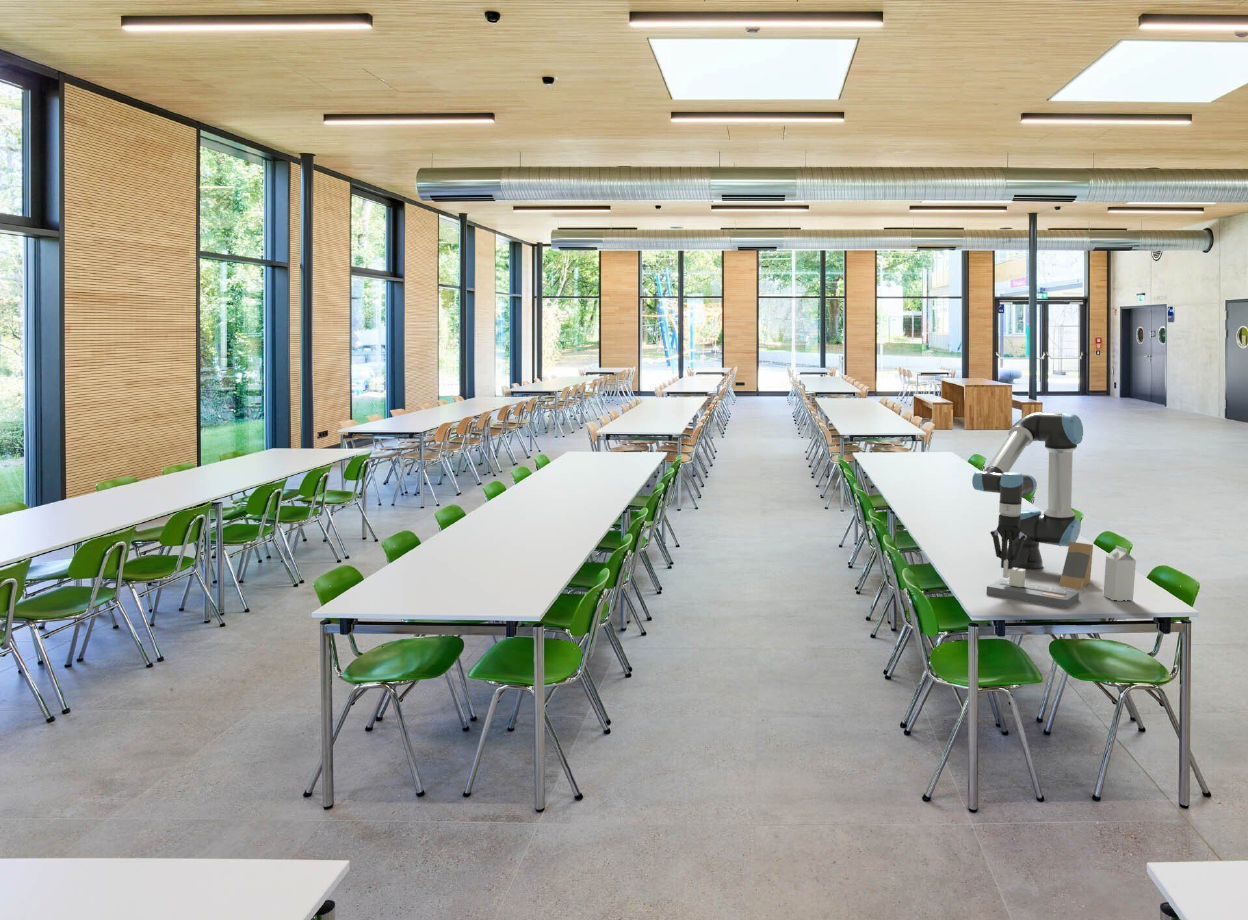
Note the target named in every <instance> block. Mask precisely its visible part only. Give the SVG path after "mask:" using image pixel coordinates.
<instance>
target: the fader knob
mask: <svg viewBox="0 0 1248 920" xmlns="http://www.w3.org/2000/svg"><path fill="white" fill-rule="evenodd" d="M1026 570H1027V569H1023V568H1015V567H1013V568H1012V569H1010V577H1008V578H1009V585H1011V586H1017V587H1023V586H1024V585H1025V583H1026Z"/></svg>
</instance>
